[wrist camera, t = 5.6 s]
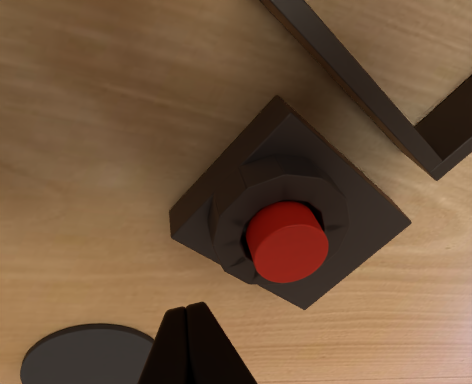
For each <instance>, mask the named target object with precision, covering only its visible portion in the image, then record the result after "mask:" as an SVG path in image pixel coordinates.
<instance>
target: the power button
mask: <svg viewBox="0 0 472 384" xmlns="http://www.w3.org/2000/svg"><path fill="white" fill-rule="evenodd" d="M246 240H247V244H248V247H249V250H250V253H251V256H252V259H253V263H254V266H255V268H256V270H257V272H258V273H259V274H260V275H261V276H262V277H264V278H265V279H267V280H269V281H272V282H277V283H288V282H294V281H297V280H300V279H303V278H305V277H307V276H309V275H310V274H312V273H313V272H314V271H316V270H317V269H318V268H319V267H320V266H321V265H322V263H323V262H324V260H325V258H326V256H327V254H328V246H329V245H328V239H327V237H326V235H325V233H324V232H323V230H322V228H321V227H320V225H319V223H318V221H317V220H316V218H315V216H314V215H313V213H312V211H311V210H310V209H309V208H308V207H307V206H305V205H303V204H301V203H299V202H295V201H280V202H276V203H273V204H271V205H268V206H266V207H264V208H262V209H261V210H260V211H258V212H257V213H256V214H255V215H254V216H253V218H252V219H251V220H250V222H249V224H248V227H247V230H246Z"/></svg>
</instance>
